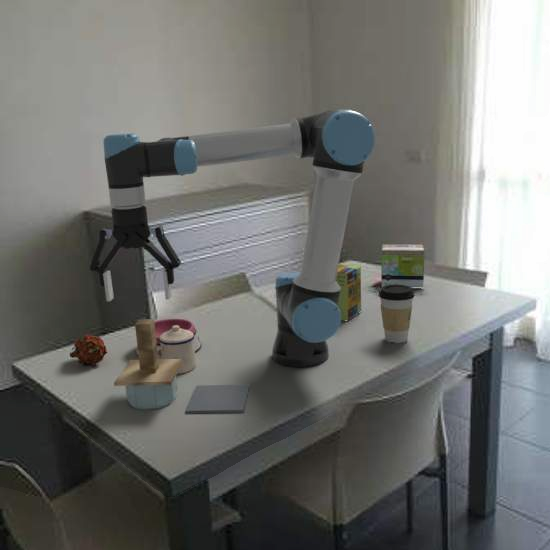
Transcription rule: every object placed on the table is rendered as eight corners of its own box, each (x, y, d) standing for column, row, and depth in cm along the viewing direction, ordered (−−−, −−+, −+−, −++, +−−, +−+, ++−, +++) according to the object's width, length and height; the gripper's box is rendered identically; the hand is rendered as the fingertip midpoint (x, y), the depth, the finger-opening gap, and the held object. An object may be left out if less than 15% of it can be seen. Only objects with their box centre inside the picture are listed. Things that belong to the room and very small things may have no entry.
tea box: (381, 289, 223) (381, 249, 220) (381, 282, 233) (381, 243, 229) (424, 289, 221) (424, 249, 217) (422, 282, 230) (422, 243, 227)
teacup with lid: (185, 358, 169) (181, 318, 166) (203, 367, 163) (199, 326, 160) (146, 371, 162) (141, 329, 159) (163, 381, 155) (158, 338, 152)
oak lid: (183, 361, 150) (178, 311, 147) (171, 384, 138) (165, 330, 134) (130, 362, 151) (125, 313, 148) (114, 385, 139) (107, 332, 135)
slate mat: (249, 386, 150) (249, 384, 150) (243, 412, 137) (243, 409, 137) (196, 387, 151) (196, 385, 151) (186, 413, 138) (185, 410, 138)
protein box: (348, 322, 192) (347, 273, 188) (305, 315, 200) (303, 269, 196) (362, 312, 200) (361, 265, 196) (320, 306, 208) (318, 261, 204)
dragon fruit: (101, 374, 165) (80, 369, 174) (120, 349, 169) (98, 345, 178) (79, 356, 161) (58, 351, 169) (99, 330, 165) (78, 327, 173)
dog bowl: (163, 367, 164) (160, 343, 163) (123, 352, 177) (120, 329, 175) (214, 346, 177) (212, 324, 176) (174, 333, 190) (172, 312, 188)
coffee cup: (420, 337, 176) (421, 287, 172) (402, 348, 169) (402, 295, 165) (391, 330, 182) (391, 282, 178) (371, 340, 175) (371, 290, 171)
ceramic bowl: (180, 388, 151) (178, 363, 149) (170, 409, 140) (167, 383, 139) (136, 388, 152) (133, 364, 150) (123, 409, 141) (120, 383, 140)
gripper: (188, 201, 138) (196, 292, 143) (79, 206, 140) (91, 295, 145) (181, 206, 131) (190, 301, 136) (66, 211, 132) (80, 305, 138)
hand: (139, 298), depth 141 cm, fingers open, 13 cm apart
